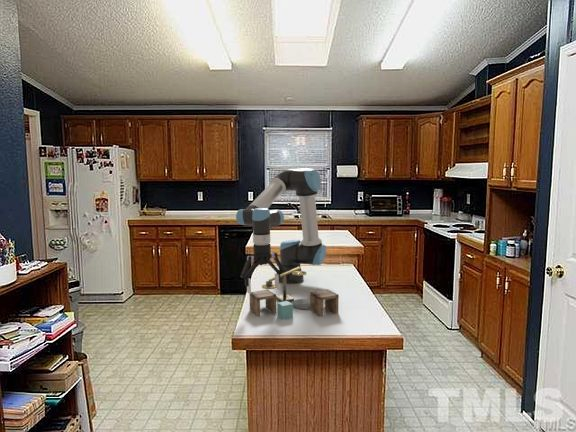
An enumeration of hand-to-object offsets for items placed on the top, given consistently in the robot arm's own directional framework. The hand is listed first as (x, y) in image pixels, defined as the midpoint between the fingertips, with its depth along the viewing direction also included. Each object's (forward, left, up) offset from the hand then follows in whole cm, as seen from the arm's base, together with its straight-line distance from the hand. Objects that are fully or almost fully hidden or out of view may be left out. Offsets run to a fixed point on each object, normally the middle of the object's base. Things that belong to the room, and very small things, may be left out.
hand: (263, 290), depth 177 cm
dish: (+1, +21, -10) cm, 23 cm away
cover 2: (+13, +24, -10) cm, 29 cm away
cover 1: (0, 0, -10) cm, 10 cm away
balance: (-10, +16, -10) cm, 21 cm away
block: (+10, +6, -10) cm, 15 cm away
